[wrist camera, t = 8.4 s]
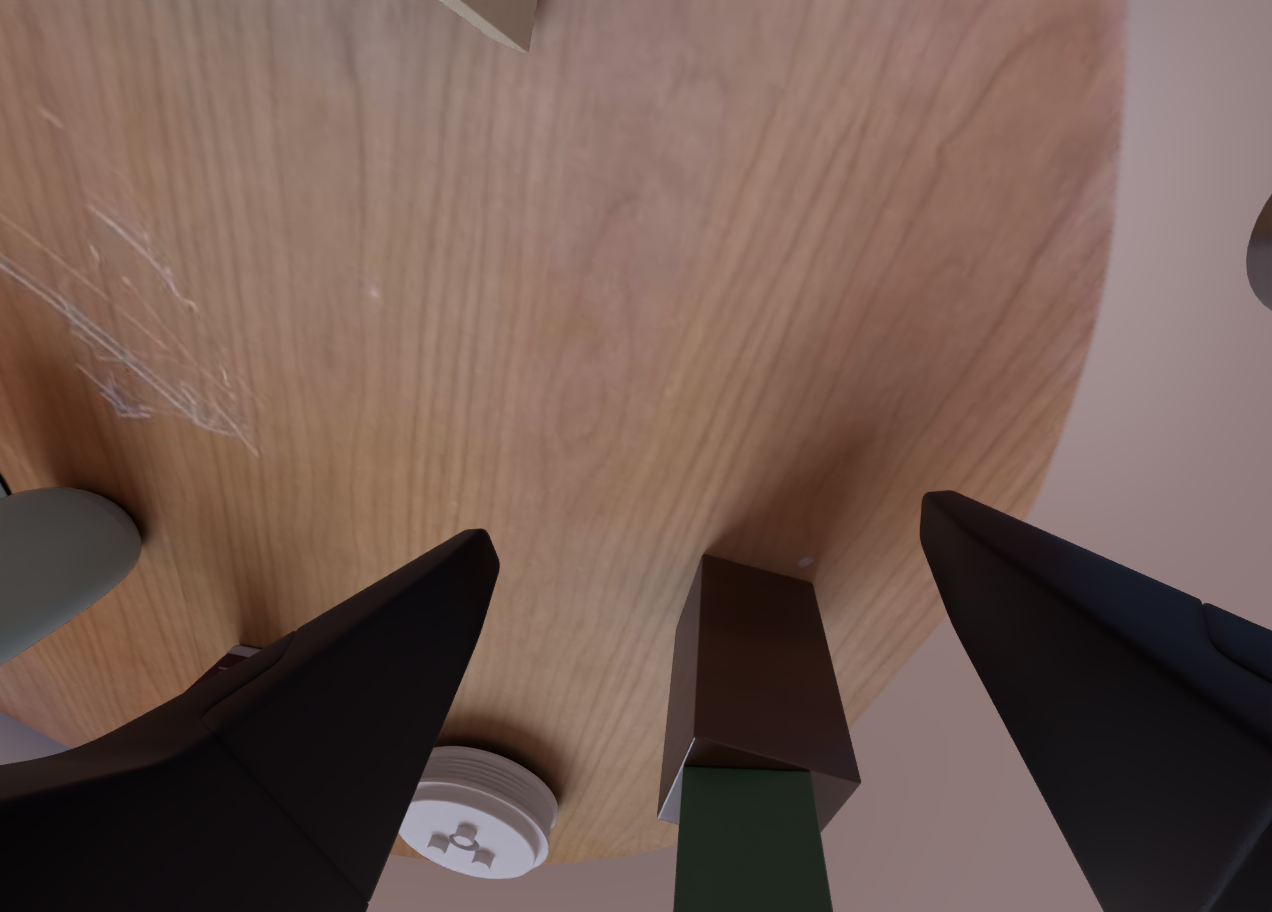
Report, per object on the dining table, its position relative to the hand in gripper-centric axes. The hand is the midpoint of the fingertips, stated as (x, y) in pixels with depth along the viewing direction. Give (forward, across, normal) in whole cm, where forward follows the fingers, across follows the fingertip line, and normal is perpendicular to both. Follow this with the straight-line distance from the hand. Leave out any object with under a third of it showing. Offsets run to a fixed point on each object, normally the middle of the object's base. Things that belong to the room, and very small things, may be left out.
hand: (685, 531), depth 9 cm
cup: (+13, +40, +5) cm, 43 cm away
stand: (+13, 0, +15) cm, 20 cm away
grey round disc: (+13, +22, +33) cm, 42 cm away
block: (+3, 0, +15) cm, 15 cm away
